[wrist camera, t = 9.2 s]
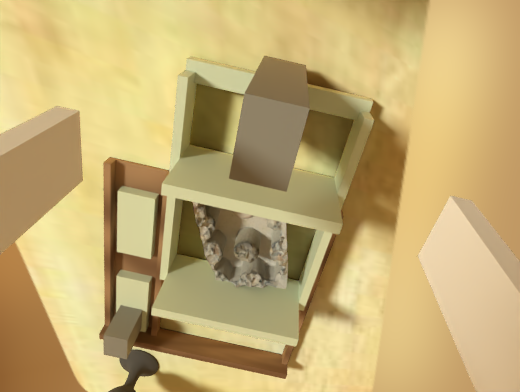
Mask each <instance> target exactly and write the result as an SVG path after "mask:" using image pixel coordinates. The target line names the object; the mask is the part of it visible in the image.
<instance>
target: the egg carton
mask: <svg viewBox="0 0 520 392" xmlns="http://www.w3.org/2000/svg"><path fill="white" fill-rule="evenodd" d="M193 210H194V214H195V220H196V223H197V226H198V227H199V229H200V237H201V239H202V243H203V247H204V254H205V256H206V258H207V260H208V263H209V264H210V266H211V268H212V270H213V271H214V272H215V279H216V280H221V281H228V282H232V283H233V284H234V285H235V287H240V286H243V285H246V286H248V287H260V288H265V287H267V286H272V287H275V288H282V289H285V288H286V286H287V277H288V253H287V232H286V223H284V222H280V221H275V220H271V219H267V218H262V217H258V216H253V215H249V214H244V213H240V212H235V211H231V210H227V209H222V208H218V207H213V206H209V205H204V204H200V203H195V202H193Z"/></svg>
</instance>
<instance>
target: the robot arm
mask: <svg viewBox="0 0 520 392" xmlns="http://www.w3.org/2000/svg"><path fill="white" fill-rule="evenodd" d="M82 181H83V177H82V156H81V136H80V115H79V111H77V110H73V109H69V108H64V107H60V106H56V107H54V108H52V109H50V110H48V111H46V112H44V113H42V114H40V115H38V116H36V117H34V118H32V119H30V120H28V121H26V122H24V123H22V124H20V125H18V126H16V127H14V128H12V129H10V130H8V131H6V132H4V133H2V134H0V254H1V253H2V252H4V251H5V250H6V249H7V248H8V247H9V246H10V245H11V244H13V243H14V242H15V241H16V240H17V239H18V238H19V237H20V236H21V235H23V234H24V233H25V232H26V231H27V230H28V229H29V228H30V227H31V226H33V225H34V224H35V223H36V222H37V221H38V220H39V219H40V218H41V217H43V216H44V215H45V214H46V213H47V212H48V211H49V210H50V209H52V208H53V207H54V206H55V205H56V204H57V203H58V202H59V201H60V200H62V199H63V198H64V197H65V196H66V195H67V194H68V193H69V192H70V191H72V190H73V189H74V188H75V187H76V186H77V185H78V184H79V183H80V182H82ZM418 258H419V260H420V262H421V265H422V267H423V269H424V271H425V274H426V276H427V279H428V281H429V283H430V286H431V288H432V290H433V293H434V295H435V297H436V299H437V302H438V304H439V307H440V309H441V311H442V314H443V316H444V318H445V320H446V323H447V325H448V327H449V330H450V332H451V334H452V337H453V339H454V341H455V344H456V346H457V348H458V351H459V353H460V355H461V358H462V360H463V362H464V364H465V367H466V369H467V372H468V374H469V376H470V378H471V381H472V383H473V385H474V388H475V390H476V392H520V261H519V260H518V259H517V257H516V256H515V255H514V253H513V252H512V251H511V250H510V249H509V247H508V246H507V244H506V243H505V242H504V241H503V240H502V238H501V237H500V236H499V234H498V233H497V232H496V231H495V229H494V228H493V227H492V226H491V224H490V223H489V222H488V220H487V219H486V218H485V217H484V215H483V214H482V213H481V212H480V210H479V209H478V208H477V207H476V206H475V204H474V203H473V202H472V201H471V200H467V199H463V198H458V197H454V196H450V198H449V200H448V201H447V203H446V205H445V207H444V209H443V210H442V212H441V214H440V216H439V218H438V220H437V221H436V223H435V225H434V227H433V229H432V231H431V232H430V234H429V236H428V238H427V240H426V242H425V243H424V245H423V247H422V249H421V251H420V253H419V254H418Z"/></svg>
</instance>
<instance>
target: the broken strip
mask: <svg viewBox="0 0 520 392" xmlns="http://www.w3.org/2000/svg"><path fill="white" fill-rule="evenodd" d="M158 198H159V194H157V193H153V192H148V191H144V190H139V189H135V188H130V187H126V186H122V187H121V188H120V189H119V190H118V201H117V252H120V253H125V254H129V255H134V256H138V257H143V258H147V259H151V258H152V256H153V254H154V250H155V237H156V224H157V211H158ZM151 288H152V276H148V275H143V274H139V273H134V272H130V271H125V270H120V271H119V273H118V274H117V276H116V314H115V316H114V318H113V319H112V321H111V323H110V325H109V326H108V328H107V330H106V332H105V333H104V355H109V356H113V357H118V358H123V359H127V358H128V356H129V354H130V351H131V349H132V347H133V345H134V343H135V341H136V339H137V337H138V334H139V332H140V331H142V332H146V330H147V328H148V326H149V314H150V301H151Z"/></svg>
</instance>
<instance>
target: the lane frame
mask: <svg viewBox="0 0 520 392" xmlns="http://www.w3.org/2000/svg"><path fill="white" fill-rule="evenodd" d="M168 174H169V170H165V169H160V168H156V167H151V166H147V165H142V164H138V163H134V162H129V161H125V160H120V159H116V158H111V157H109V158H108V159H107V160H106V161H105V162H104V274H105V325H104V327H103V329H102V330H101V332H100V334H99V335H100V339H104V333H105V332H106V330H107V328H108V326H109V325H110V323H111V321H112V319H113V318H114V316H115V314H116V276H117V274H118V273H119V271H120V270H125V271H130V272H134V273H139V274H143V275H148V276H152V288H151V301H150V314H149V326H148V328H147V330H146V332H142V331H140V332H139V334H138V337H137V339H136V341H135V343H134V345H133V346H136V347H141V348H145V349H150V350H154V351H159V352H164V353H168V354H173V355H178V356H182V357H187V358H191V359H196V360H201V361H205V362H210V363H214V364H219V365H224V366H228V367H233V368H238V369H242V370H247V371H251V372H256V373H261V374H265V375H270V376H274V377H279V378H284V379H285V378H286V376H287V363H288V361H289V358H290V355H291V353H292V350H293V348H294V346H291V345H286V346H285V348H284V351H283V354H282V355H281V354H276V353H272V352H267V351H263V350H258V349H253V348H249V347H244V346H240V345H235V344H230V343H226V342H221V341H217V340H212V339H208V338H203V337H198V336H194V335H189V334H185V333H180V332H175V331H171V330H166V329H162V328H160V319H161V317H158V316H153V315H151V311H152V306H153V304H154V302H155V300H156V297H157V295H158V293H159V291H160V289H161V287H162V285H163V282H164V280H161V279H160V268H161V257H162V246H163V235H164V224H165V213H166V202H167V196H164V195H161V189H162V183H163V181H164V180H165V178H166V177H167V176H168ZM122 186H126V187H130V188H135V189H139V190H144V191H148V192H153V193H157V194H159V198H158V211H157V224H156V237H155V250H154V254H153V256H152V258H151V259H147V258H143V257H138V256H134V255H129V254H125V253H120V252H117V201H118V190H119V189H120V188H121V187H122ZM341 216H342V219H343V213H342V210H341ZM335 237H336V234H333V233H332V236H331V239H330V241H329V244H328V247H327V249H326V252H325V255H324V258H323V260H322V263H321V266H320V268H319V271H318V274H317V276H316V279H315V282H314V284H313V287H312V290H311V292H310V295H309V298H308V300H307V303H306V306H305V309H304V311H301V310H299V332H300V329H301V326H302V324H303V321H304V319H305V316H306V313H307V311H308V308H309V305H310V303H311V300H312V298H313V295H314V292H315V290H316V287H317V284H318V282H319V279H320V276H321V274H322V271H323V269H324V266H325V263H326V261H327V258H328V255H329V253H330V250H331V248H332V245H333V242H334V240H335Z"/></svg>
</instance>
